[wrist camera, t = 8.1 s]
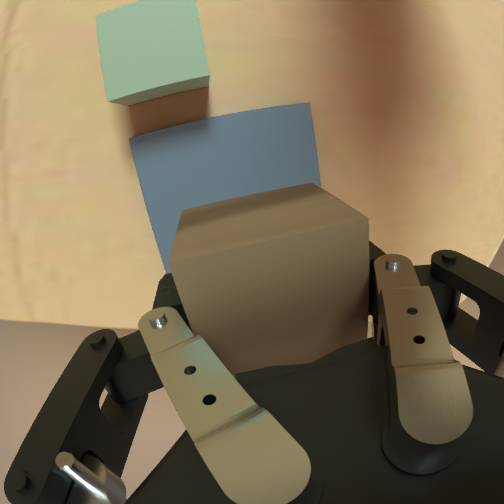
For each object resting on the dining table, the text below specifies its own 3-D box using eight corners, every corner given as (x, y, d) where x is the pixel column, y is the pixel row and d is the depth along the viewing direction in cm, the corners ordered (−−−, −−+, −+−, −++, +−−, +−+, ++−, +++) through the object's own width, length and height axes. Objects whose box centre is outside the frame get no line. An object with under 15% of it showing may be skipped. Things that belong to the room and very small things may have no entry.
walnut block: (181, 210, 12) (168, 262, 8) (312, 182, 13) (368, 218, 8) (213, 318, 15) (219, 397, 10) (323, 292, 15) (365, 359, 10)
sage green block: (118, 36, 16) (95, 15, 11) (196, 16, 16) (194, -12, 11) (129, 105, 18) (107, 101, 13) (208, 86, 18) (209, 75, 14)
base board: (132, 137, 19) (129, 138, 18) (305, 103, 19) (309, 102, 19) (175, 289, 24) (174, 296, 23) (323, 257, 24) (327, 262, 24)
